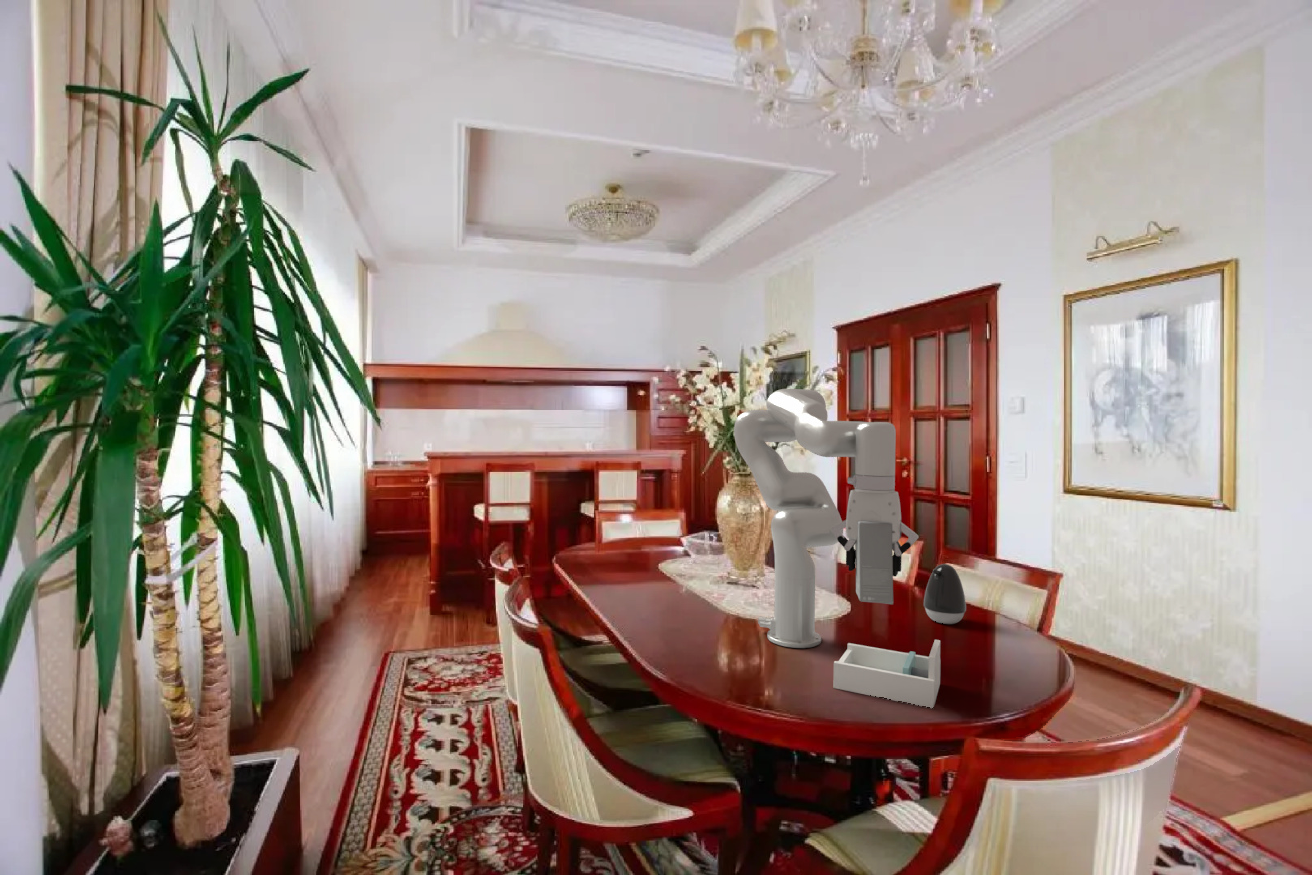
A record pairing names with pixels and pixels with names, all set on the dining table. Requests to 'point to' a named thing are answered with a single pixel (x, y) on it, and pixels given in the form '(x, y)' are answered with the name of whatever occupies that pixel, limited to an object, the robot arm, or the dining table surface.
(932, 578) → the dark grey egg shape
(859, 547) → the skincare box
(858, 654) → the open box with divider
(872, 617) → the dining table surface
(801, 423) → the robot arm
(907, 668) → the pusher
